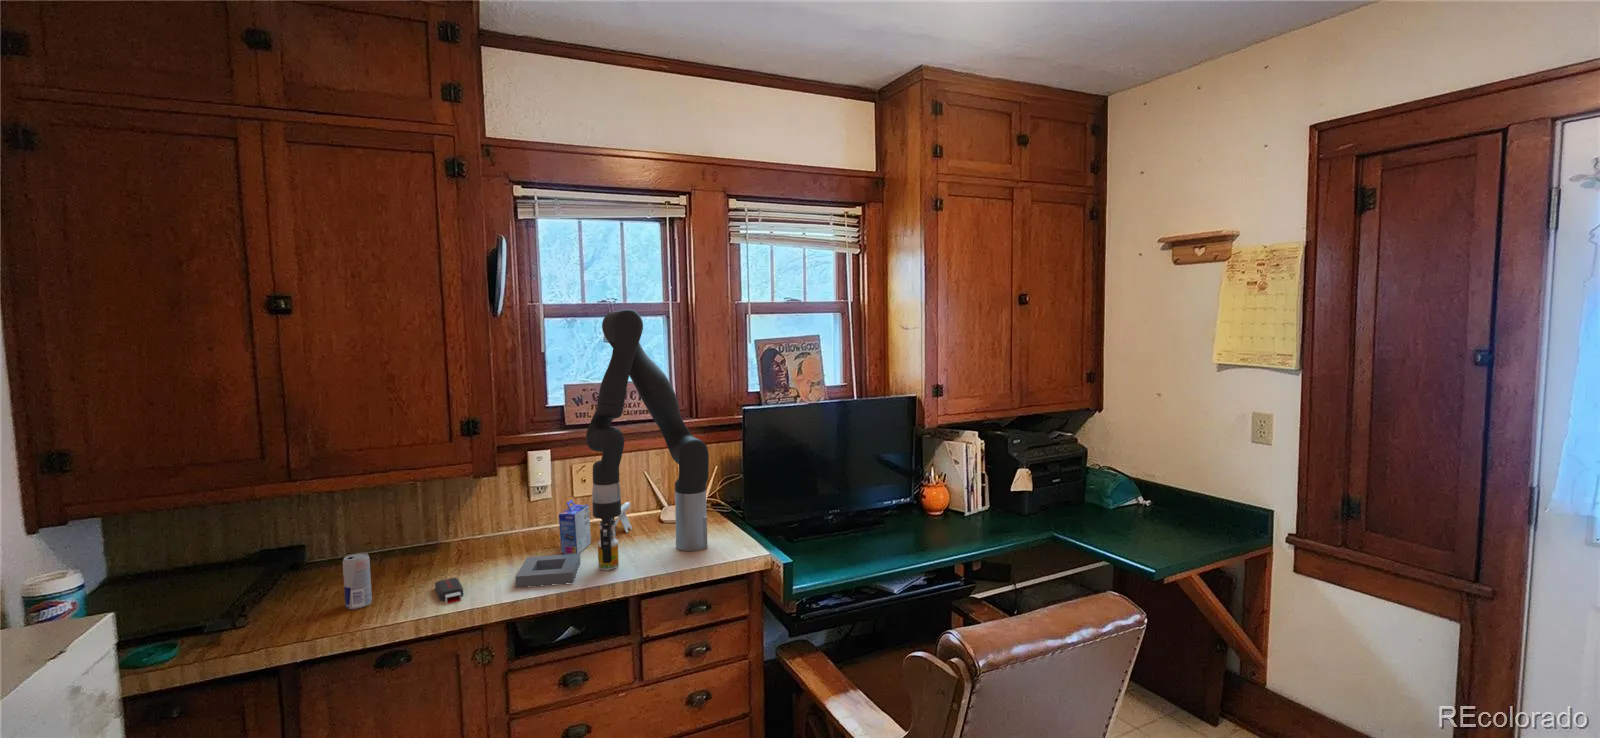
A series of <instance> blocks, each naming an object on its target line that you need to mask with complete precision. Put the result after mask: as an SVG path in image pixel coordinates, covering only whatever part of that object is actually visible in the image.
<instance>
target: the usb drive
mask: <svg viewBox="0 0 1600 738" xmlns="http://www.w3.org/2000/svg"><path fill="white" fill-rule="evenodd" d="M434 589H435V592H436V594H438V595H437V597H438V600H439V601H441V602H445V604H446V605H448V604H447V603H449V604H452V602H453V603H456V601H457V602H461V600H462V597H464V587H463V586H462V584H461V582H460V580H459V578H457V577H451V578H445V579H441V580H438V581H436V582H435V583H434Z"/></svg>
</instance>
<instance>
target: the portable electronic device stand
mask: <svg viewBox="0 0 1600 738" xmlns="http://www.w3.org/2000/svg"><path fill="white" fill-rule="evenodd" d="M630 508H631V503H630V502H629V501H625V502H624V503H623V504H621V514H620V515H619V516H617V518H616V519H615V527H616V526H617V524H618V522H619V520H620V522H621V525H622V527H623V529H624V531H625V534H628V533H629V530H630V529H631V530H632V529H633V527H632V524H631V523H630V520H629V518H628V516H627V513H626V511H627V510H629V509H630ZM627 532H628V533H627Z"/></svg>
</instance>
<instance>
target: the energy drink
mask: <svg viewBox="0 0 1600 738" xmlns="http://www.w3.org/2000/svg"><path fill="white" fill-rule="evenodd" d="M370 562H371V560H370V556H369V553H367V552H357V553H353V554H349V555H346V556H344V557H343V560H342V573H343V575H342V576H343V588H344V589H343V590H344V593H343V594H344V604H345V605H344V607H345V608H346V609H347V608H348V610H359V609H363V608H365V606H366V607H368V606H370V605H371V604H372V602H373V600H372V599H373V597H372V595H373V594H372V579H371V578H372V577H371V564H370ZM367 605H368V606H367ZM362 607H363V608H362ZM358 608H359V609H358Z"/></svg>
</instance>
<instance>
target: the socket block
mask: <svg viewBox="0 0 1600 738" xmlns="http://www.w3.org/2000/svg"><path fill="white" fill-rule="evenodd" d="M579 566H580V567H581V553H579V554H553V555H540V556H537V555H536V556H527V557H526V558H525V560H524V562H523V564H522V565H521V567H520V568H519V570H518V572H517V573H516V575H515V589H519V588H518V587H523V588H529V587H528V586H536V587H542V586H541V585H549V586H553V585H552V584H562V585H567V584H566V583H573V582H574V583H575V580H574V579H576V577H577V575H576V574H578V572H577V571H579V569H580V567H579ZM578 568H579V569H578ZM574 583H573V584H574Z"/></svg>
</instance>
